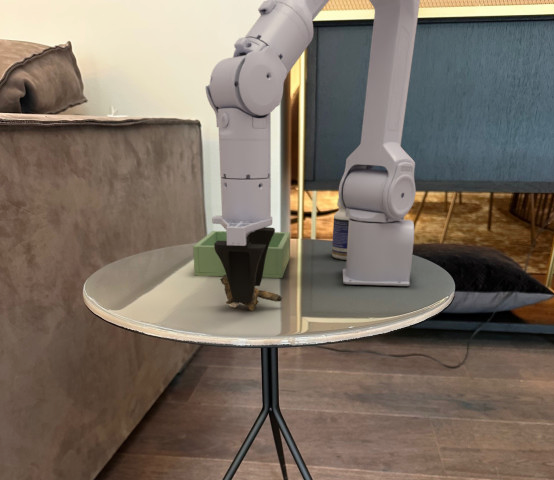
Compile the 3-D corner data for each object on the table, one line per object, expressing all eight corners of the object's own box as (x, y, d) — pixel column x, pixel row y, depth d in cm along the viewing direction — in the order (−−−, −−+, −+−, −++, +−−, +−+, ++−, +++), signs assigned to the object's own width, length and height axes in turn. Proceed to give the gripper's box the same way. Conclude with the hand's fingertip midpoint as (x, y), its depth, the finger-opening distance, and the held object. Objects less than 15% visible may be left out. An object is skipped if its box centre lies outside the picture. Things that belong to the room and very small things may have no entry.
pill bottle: (356, 262, 89) (360, 201, 85) (326, 258, 92) (328, 199, 88) (369, 256, 94) (373, 198, 90) (340, 252, 96) (343, 196, 92)
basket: (289, 258, 92) (289, 232, 90) (282, 278, 79) (282, 248, 78) (213, 256, 93) (212, 230, 91) (194, 275, 81) (192, 246, 79)
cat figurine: (219, 299, 68) (224, 270, 66) (278, 315, 67) (285, 285, 65) (213, 306, 65) (218, 275, 63) (275, 322, 65) (282, 291, 63)
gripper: (223, 172, 66) (227, 277, 72) (195, 182, 53) (202, 309, 59) (278, 173, 66) (278, 279, 71) (264, 183, 53) (264, 312, 58)
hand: (247, 293), depth 65 cm, fingers open, 7 cm apart
